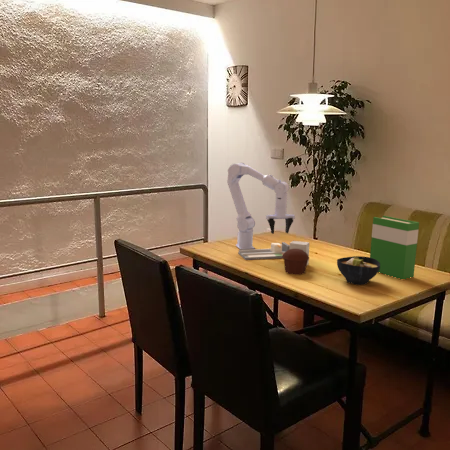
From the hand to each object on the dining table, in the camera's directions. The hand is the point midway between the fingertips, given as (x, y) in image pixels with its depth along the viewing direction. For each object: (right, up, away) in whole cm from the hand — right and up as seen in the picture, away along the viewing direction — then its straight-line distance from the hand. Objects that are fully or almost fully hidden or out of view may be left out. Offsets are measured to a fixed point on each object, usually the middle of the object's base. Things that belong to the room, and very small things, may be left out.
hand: (279, 233), depth 240 cm
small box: (+6, -14, -20) cm, 25 cm away
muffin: (+3, -17, -31) cm, 35 cm away
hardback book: (+45, -17, -30) cm, 57 cm away
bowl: (+27, -19, -43) cm, 54 cm away
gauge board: (-8, -11, -5) cm, 14 cm away
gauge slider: (-2, -10, -4) cm, 10 cm away
